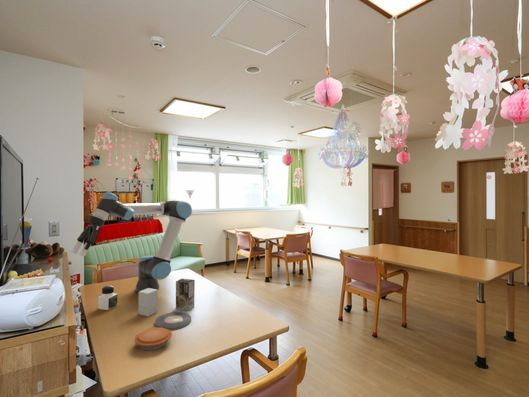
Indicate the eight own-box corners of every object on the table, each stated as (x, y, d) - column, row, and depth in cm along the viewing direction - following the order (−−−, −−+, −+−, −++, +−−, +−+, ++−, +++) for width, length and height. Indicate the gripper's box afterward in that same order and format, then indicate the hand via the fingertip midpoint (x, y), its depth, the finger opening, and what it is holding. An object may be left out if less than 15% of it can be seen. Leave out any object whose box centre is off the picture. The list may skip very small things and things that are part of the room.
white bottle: (108, 310, 161) (108, 289, 161) (97, 309, 163) (98, 288, 162) (117, 305, 168) (117, 285, 168) (107, 304, 170) (107, 284, 169)
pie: (128, 354, 118) (128, 342, 118) (142, 335, 134) (142, 325, 134) (165, 353, 119) (166, 341, 119) (175, 335, 135) (175, 324, 135)
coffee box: (194, 306, 168) (195, 279, 168) (188, 311, 162) (188, 282, 162) (181, 304, 171) (182, 278, 171) (175, 308, 165) (175, 281, 165)
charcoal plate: (167, 312, 159) (167, 310, 159) (197, 316, 156) (197, 314, 155) (147, 327, 142) (147, 324, 142) (180, 331, 138) (180, 329, 138)
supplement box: (158, 311, 160) (158, 289, 160) (147, 316, 154) (148, 293, 154) (148, 309, 164) (148, 287, 163) (137, 314, 157) (138, 291, 157)
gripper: (84, 215, 165) (63, 249, 157) (100, 215, 149) (77, 253, 141) (97, 220, 170) (77, 254, 162) (113, 221, 154) (92, 259, 145)
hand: (77, 254), depth 151 cm, fingers open, 13 cm apart
